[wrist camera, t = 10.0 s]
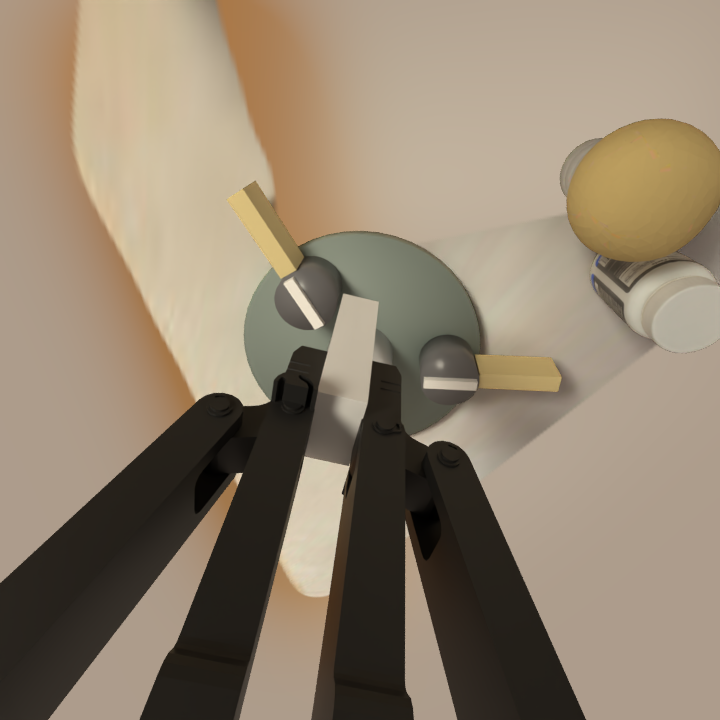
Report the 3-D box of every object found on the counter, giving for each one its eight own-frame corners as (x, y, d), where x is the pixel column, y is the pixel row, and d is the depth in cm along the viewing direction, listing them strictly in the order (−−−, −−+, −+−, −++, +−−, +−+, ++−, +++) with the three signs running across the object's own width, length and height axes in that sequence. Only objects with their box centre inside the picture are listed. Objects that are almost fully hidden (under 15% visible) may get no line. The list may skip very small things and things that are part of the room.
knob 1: (352, 294, 31) (347, 317, 28) (305, 318, 33) (295, 342, 30) (274, 168, 27) (258, 178, 24) (225, 200, 29) (203, 214, 26)
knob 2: (417, 378, 35) (418, 407, 32) (421, 333, 33) (423, 359, 30) (542, 384, 34) (556, 414, 31) (554, 338, 32) (570, 365, 29)
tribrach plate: (232, 228, 31) (189, 263, 25) (495, 234, 30) (520, 273, 24) (262, 427, 40) (236, 490, 34) (462, 438, 39) (474, 505, 33)
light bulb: (575, 92, 25) (662, 95, 17) (669, 138, 26) (798, 163, 18) (514, 200, 29) (562, 248, 20) (600, 238, 29) (680, 300, 21)
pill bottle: (651, 298, 31) (725, 360, 24) (581, 299, 32) (634, 360, 25) (673, 230, 29) (762, 277, 22) (596, 232, 29) (659, 279, 22)
